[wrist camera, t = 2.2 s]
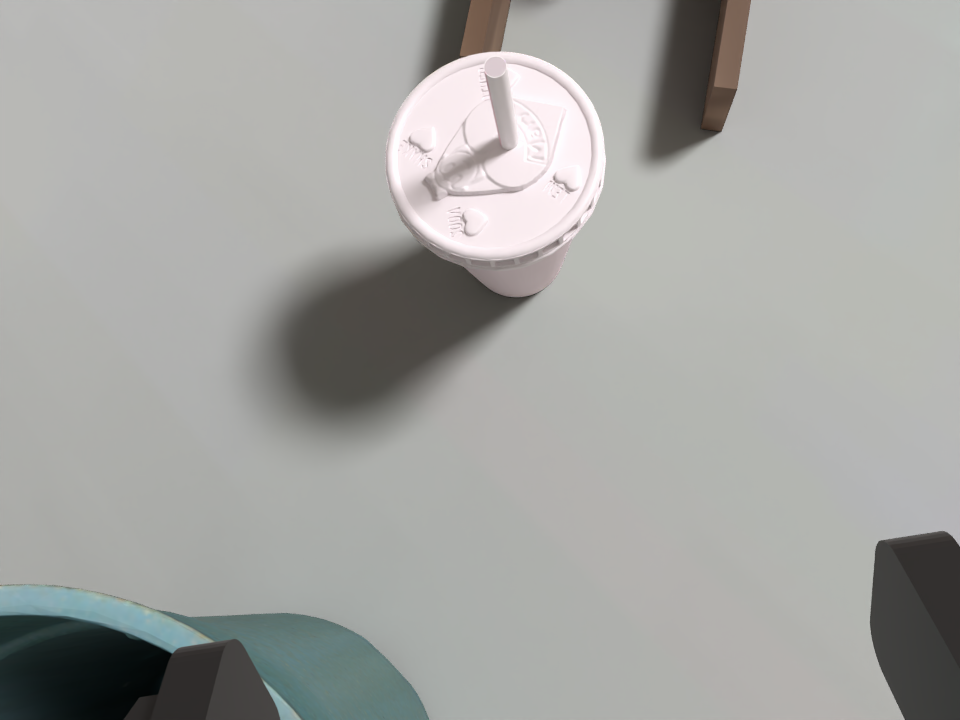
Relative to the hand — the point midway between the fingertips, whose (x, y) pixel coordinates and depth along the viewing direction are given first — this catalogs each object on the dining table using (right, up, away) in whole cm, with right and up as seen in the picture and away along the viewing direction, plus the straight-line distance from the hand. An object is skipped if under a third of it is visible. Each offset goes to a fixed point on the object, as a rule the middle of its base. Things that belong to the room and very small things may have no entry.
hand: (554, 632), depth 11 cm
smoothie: (+1, +8, +23) cm, 25 cm away
